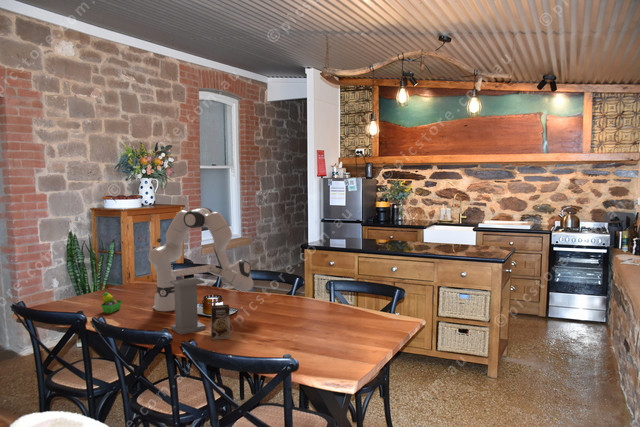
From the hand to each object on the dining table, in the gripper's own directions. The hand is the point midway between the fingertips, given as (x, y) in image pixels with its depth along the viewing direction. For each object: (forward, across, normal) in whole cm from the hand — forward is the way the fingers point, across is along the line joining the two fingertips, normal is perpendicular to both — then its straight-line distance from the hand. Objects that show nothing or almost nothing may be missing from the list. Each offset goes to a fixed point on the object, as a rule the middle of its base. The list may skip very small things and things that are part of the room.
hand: (208, 267), depth 271 cm
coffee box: (-11, +23, +30) cm, 40 cm away
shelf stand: (-5, 0, +34) cm, 34 cm away
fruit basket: (+13, -62, +45) cm, 78 cm away
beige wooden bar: (+7, 0, +6) cm, 9 cm away
